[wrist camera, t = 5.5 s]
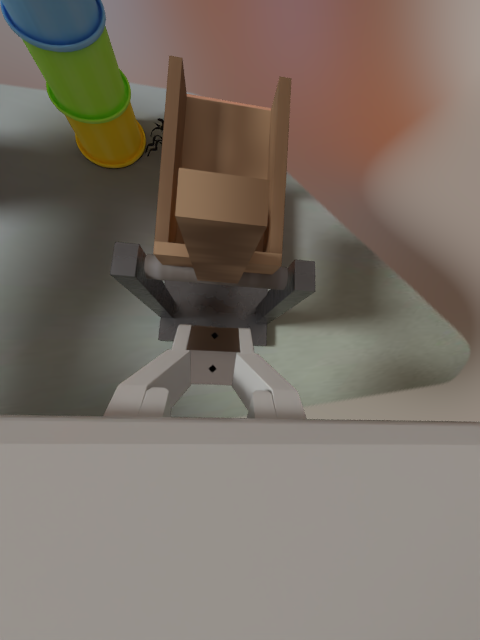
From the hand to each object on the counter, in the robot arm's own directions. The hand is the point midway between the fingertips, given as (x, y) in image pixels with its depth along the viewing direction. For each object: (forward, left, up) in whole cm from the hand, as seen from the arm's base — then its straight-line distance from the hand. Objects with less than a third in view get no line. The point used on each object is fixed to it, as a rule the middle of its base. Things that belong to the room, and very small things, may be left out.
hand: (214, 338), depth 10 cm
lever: (0, +12, -7) cm, 13 cm away
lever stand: (0, +6, -23) cm, 23 cm away
